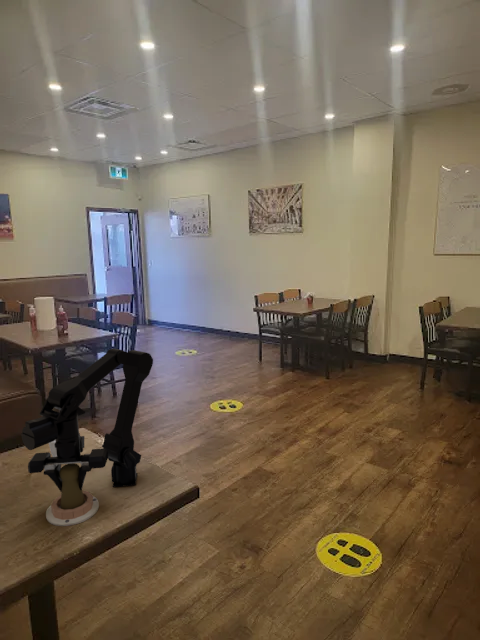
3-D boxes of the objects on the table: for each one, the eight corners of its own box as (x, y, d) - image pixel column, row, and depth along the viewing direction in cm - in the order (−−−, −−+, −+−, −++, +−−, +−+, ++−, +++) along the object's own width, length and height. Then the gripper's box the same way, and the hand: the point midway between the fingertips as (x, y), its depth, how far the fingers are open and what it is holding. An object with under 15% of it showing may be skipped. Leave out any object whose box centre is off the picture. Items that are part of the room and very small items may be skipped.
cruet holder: (102, 494, 122) (102, 485, 121) (93, 523, 109) (92, 513, 109) (54, 498, 120) (53, 489, 120) (39, 528, 107) (38, 518, 107)
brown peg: (76, 512, 111) (73, 472, 109) (55, 509, 112) (52, 470, 110) (89, 499, 117) (86, 461, 115) (69, 496, 118) (66, 459, 116)
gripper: (109, 419, 120) (112, 471, 123) (38, 424, 118) (43, 477, 120) (102, 437, 109) (106, 493, 112) (24, 442, 107) (30, 500, 110)
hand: (71, 490), depth 114 cm, fingers closed on brown peg, 4 cm apart
